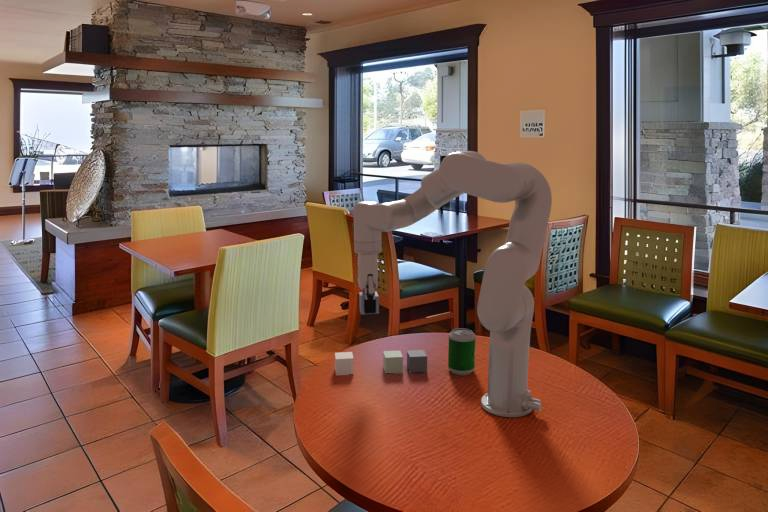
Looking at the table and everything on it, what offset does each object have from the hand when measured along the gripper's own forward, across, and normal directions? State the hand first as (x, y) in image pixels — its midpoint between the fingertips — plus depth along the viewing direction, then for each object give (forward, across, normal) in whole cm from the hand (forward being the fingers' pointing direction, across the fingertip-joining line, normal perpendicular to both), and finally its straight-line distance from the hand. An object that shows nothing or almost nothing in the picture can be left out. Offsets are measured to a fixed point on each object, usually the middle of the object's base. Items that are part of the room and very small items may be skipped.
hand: (369, 309), depth 159 cm
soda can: (+19, +3, +26) cm, 32 cm away
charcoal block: (+19, 0, +14) cm, 23 cm away
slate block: (+1, 0, 0) cm, 1 cm away
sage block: (+19, 0, +6) cm, 20 cm away
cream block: (+19, -1, -8) cm, 20 cm away
